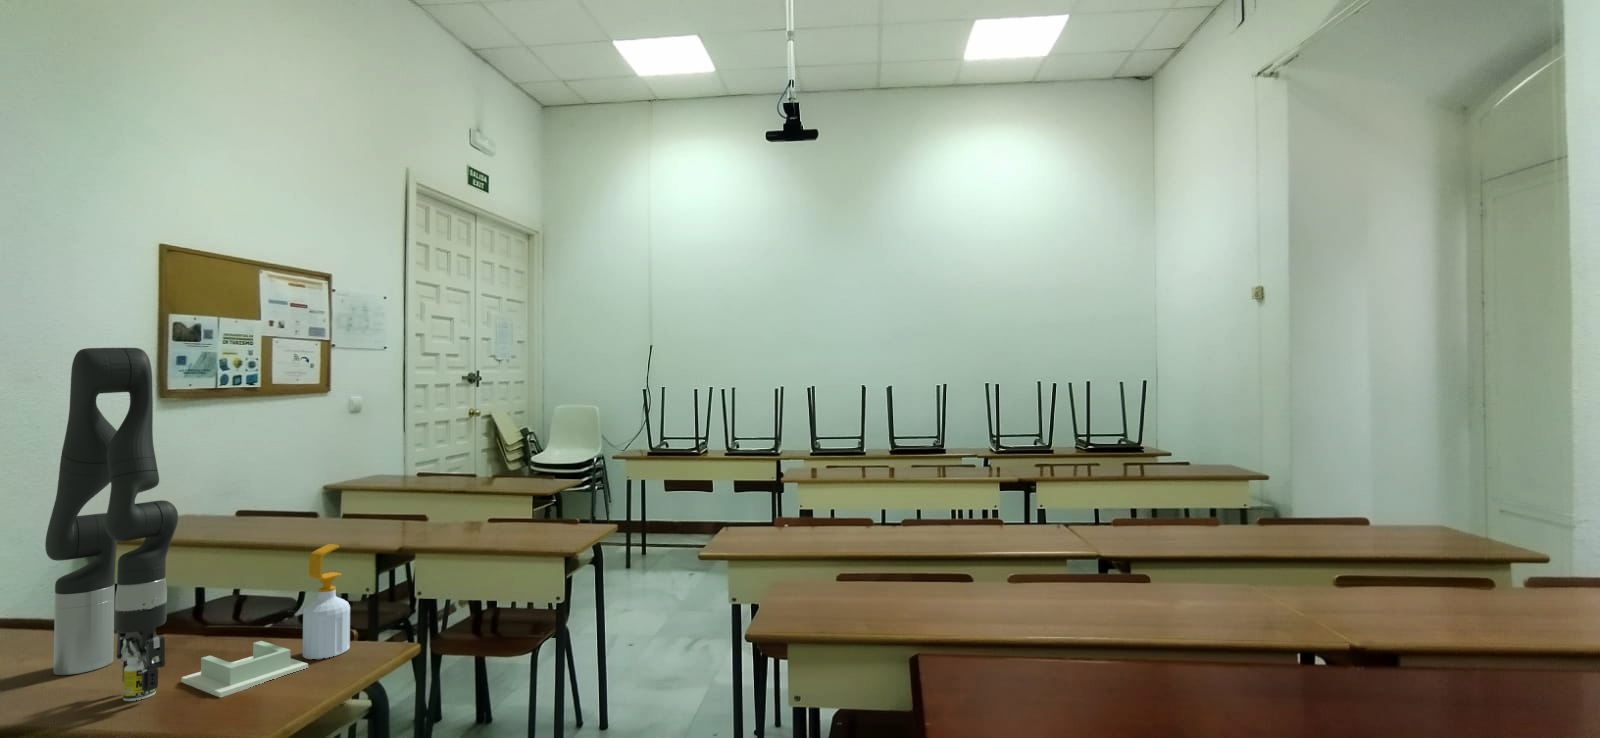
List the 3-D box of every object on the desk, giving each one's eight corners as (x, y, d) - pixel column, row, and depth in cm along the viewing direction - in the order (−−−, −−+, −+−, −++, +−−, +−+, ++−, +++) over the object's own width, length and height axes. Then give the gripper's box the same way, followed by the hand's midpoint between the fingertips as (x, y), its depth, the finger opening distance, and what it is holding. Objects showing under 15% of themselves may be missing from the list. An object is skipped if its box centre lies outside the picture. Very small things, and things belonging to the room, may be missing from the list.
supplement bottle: (135, 703, 136) (136, 659, 136) (116, 701, 137) (117, 657, 137) (162, 692, 140) (163, 650, 141) (144, 690, 141) (144, 648, 142)
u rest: (181, 682, 145) (181, 660, 145) (268, 655, 159) (269, 635, 160) (220, 697, 138) (220, 674, 138) (308, 668, 152) (308, 647, 152)
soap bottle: (358, 648, 163) (359, 543, 164) (317, 663, 155) (319, 551, 156) (334, 643, 167) (335, 540, 168) (293, 656, 159) (294, 548, 159)
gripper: (100, 603, 139) (99, 686, 139) (132, 614, 132) (131, 700, 132) (149, 593, 146) (147, 672, 145) (182, 603, 139) (180, 685, 139)
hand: (140, 685), depth 139 cm, fingers open, 8 cm apart
